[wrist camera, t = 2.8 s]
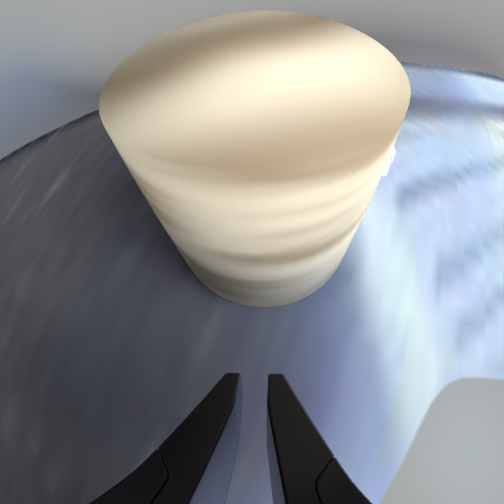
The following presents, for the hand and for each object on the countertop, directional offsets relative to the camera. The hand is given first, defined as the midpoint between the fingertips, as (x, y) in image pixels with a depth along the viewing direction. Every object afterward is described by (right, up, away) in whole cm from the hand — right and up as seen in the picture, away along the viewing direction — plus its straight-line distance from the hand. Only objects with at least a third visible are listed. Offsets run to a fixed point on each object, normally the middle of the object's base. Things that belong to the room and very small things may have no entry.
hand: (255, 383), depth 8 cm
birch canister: (+1, +5, +10) cm, 11 cm away
